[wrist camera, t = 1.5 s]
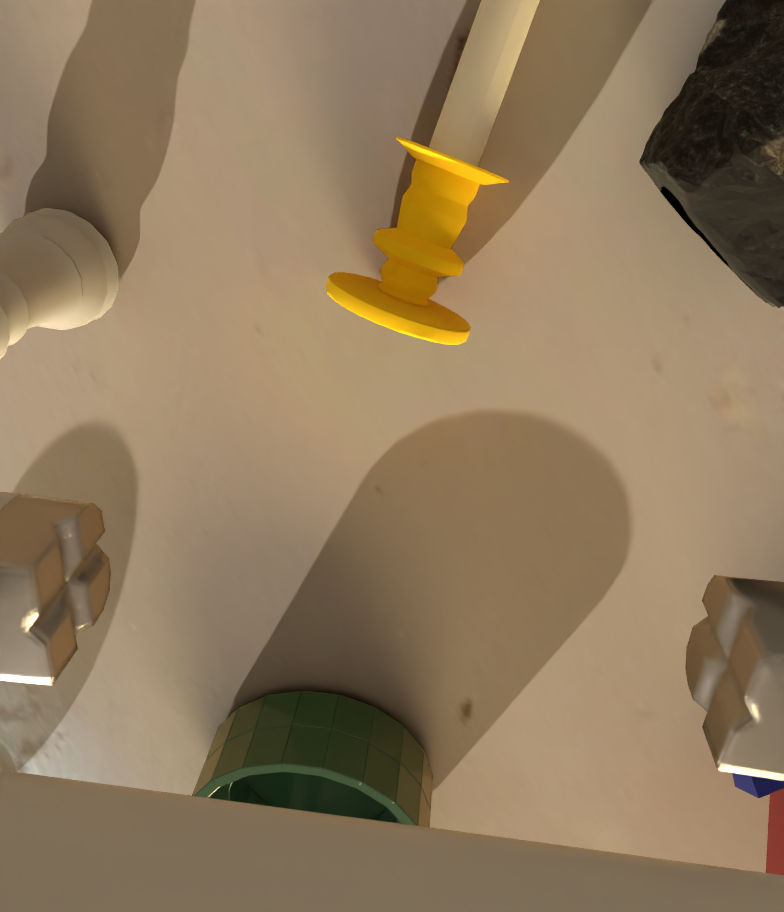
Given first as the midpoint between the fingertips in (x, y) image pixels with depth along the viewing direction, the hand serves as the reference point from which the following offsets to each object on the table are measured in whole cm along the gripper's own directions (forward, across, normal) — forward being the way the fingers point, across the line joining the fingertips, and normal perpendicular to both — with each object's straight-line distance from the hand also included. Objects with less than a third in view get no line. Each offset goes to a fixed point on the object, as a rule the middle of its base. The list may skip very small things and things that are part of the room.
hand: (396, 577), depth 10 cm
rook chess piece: (+20, +15, +2) cm, 25 cm away
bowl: (+20, +4, +29) cm, 35 cm away
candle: (+17, +2, +2) cm, 17 cm away
